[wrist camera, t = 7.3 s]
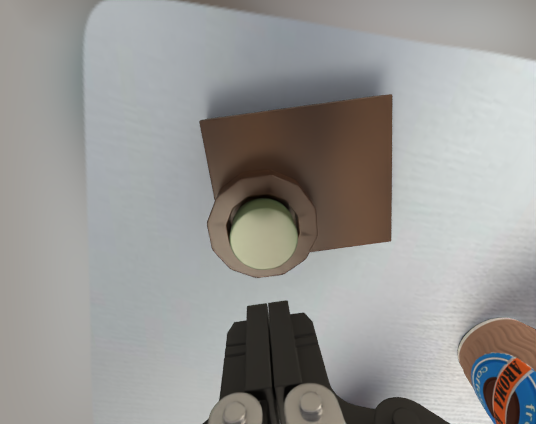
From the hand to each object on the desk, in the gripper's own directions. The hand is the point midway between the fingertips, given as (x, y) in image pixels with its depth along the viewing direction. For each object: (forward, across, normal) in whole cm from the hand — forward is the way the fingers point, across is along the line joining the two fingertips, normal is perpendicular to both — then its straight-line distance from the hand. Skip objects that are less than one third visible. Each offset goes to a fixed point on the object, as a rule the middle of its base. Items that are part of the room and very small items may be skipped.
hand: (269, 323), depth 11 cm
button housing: (+13, -3, -2) cm, 13 cm away
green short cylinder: (+9, 0, 0) cm, 9 cm away
